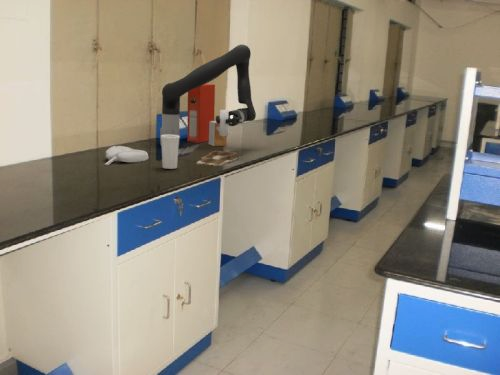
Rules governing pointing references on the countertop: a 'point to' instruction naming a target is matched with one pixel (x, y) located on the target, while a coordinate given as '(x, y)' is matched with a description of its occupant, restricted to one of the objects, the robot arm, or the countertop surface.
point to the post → (223, 123)
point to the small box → (216, 135)
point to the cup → (170, 150)
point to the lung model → (125, 155)
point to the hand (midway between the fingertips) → (221, 121)
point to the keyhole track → (218, 158)
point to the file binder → (200, 112)
